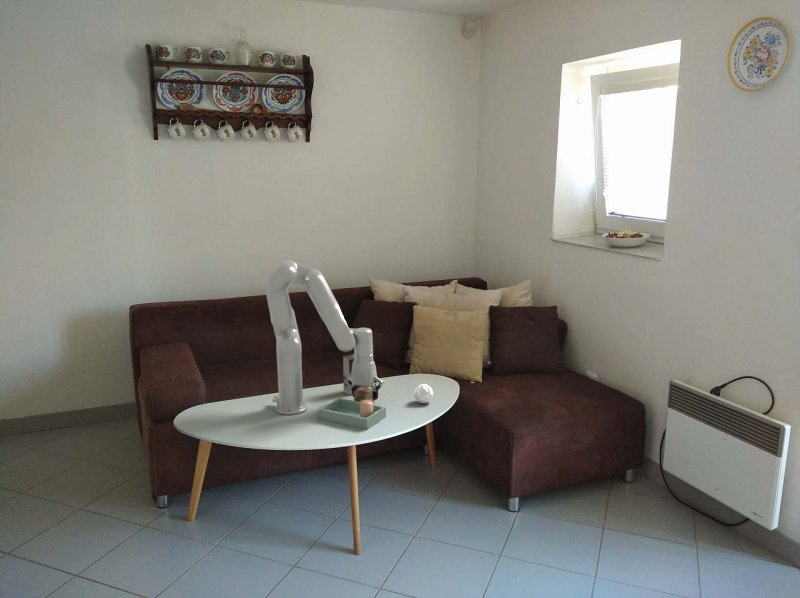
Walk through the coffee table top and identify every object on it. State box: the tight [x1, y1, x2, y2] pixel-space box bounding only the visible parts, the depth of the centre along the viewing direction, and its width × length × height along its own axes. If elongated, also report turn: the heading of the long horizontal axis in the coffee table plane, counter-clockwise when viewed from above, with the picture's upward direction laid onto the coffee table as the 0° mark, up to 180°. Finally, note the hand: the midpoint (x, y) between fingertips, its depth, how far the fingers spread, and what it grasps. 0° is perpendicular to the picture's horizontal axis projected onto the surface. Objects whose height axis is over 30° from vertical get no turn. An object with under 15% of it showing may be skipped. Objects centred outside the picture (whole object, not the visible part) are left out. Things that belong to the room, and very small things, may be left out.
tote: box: [318, 397, 387, 431], centre depth 245 cm, size 22×14×4 cm, turn 62°
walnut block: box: [353, 387, 375, 404], centre depth 259 cm, size 6×6×6 cm
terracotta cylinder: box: [360, 400, 374, 418], centre depth 241 cm, size 5×5×7 cm
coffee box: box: [342, 354, 369, 396], centre depth 273 cm, size 9×6×16 cm
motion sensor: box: [413, 383, 434, 404], centre depth 261 cm, size 8×8×8 cm
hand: (365, 397), depth 260 cm, fingers open, 9 cm apart
